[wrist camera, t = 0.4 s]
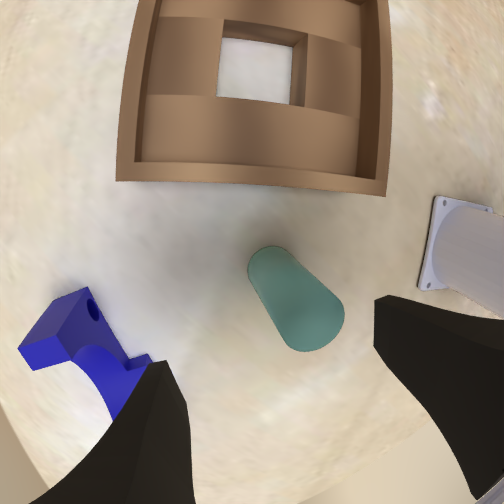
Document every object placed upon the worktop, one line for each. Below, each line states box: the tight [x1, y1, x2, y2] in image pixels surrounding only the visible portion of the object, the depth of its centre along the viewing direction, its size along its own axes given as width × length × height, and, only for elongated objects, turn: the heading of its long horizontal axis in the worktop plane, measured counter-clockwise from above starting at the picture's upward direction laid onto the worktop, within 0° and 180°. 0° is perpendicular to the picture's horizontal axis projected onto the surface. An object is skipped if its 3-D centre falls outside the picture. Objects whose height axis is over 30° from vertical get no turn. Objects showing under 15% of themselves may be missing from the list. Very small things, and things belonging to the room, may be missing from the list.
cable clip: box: [17, 287, 153, 421], centre depth 16 cm, size 12×4×6 cm, turn 17°
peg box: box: [116, 0, 393, 197], centre depth 13 cm, size 13×13×4 cm
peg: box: [248, 246, 345, 352], centre depth 16 cm, size 3×3×7 cm
